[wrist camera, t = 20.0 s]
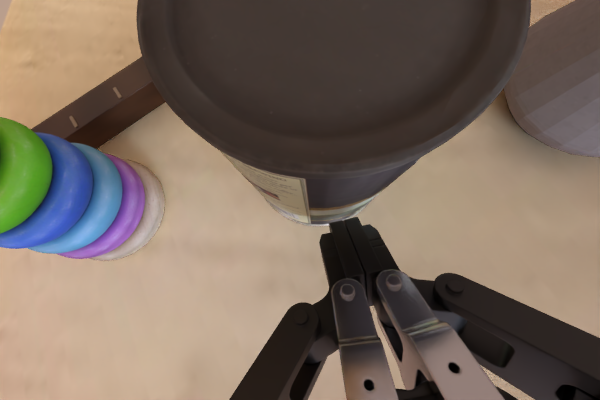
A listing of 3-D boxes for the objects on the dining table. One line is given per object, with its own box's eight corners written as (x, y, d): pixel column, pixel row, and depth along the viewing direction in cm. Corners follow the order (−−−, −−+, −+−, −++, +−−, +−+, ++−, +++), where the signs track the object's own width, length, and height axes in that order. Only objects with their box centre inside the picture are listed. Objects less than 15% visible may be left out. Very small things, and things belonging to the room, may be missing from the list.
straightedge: (291, -11, 24) (288, -41, 21) (306, 6, 23) (305, -23, 21) (33, 161, 22) (-4, 149, 19) (45, 183, 21) (9, 174, 19)
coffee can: (389, 115, 21) (540, -151, 7) (372, 238, 19) (530, 211, 5) (269, 97, 22) (190, -168, 8) (242, 213, 20) (77, 135, 6)
